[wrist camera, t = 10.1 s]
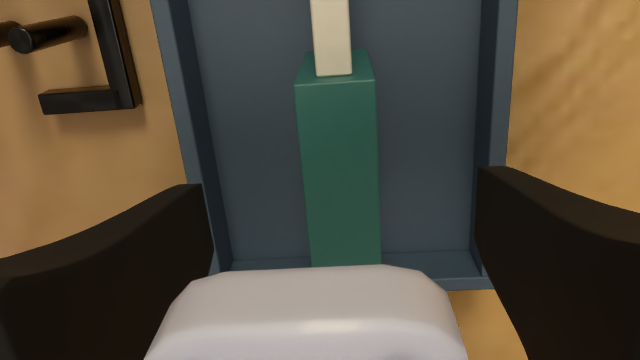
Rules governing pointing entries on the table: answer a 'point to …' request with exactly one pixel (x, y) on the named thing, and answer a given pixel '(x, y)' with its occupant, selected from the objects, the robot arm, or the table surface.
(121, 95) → the rack
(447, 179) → the tray
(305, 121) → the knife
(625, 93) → the table surface
